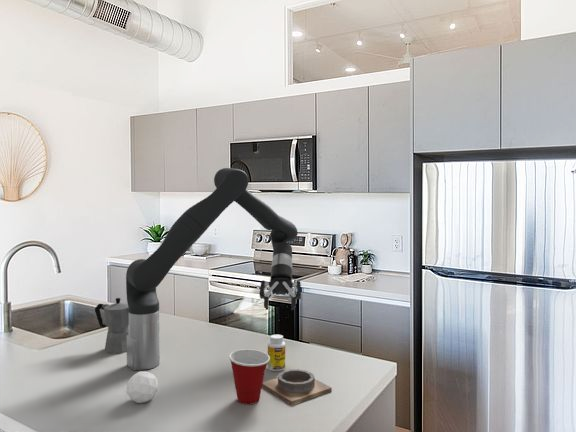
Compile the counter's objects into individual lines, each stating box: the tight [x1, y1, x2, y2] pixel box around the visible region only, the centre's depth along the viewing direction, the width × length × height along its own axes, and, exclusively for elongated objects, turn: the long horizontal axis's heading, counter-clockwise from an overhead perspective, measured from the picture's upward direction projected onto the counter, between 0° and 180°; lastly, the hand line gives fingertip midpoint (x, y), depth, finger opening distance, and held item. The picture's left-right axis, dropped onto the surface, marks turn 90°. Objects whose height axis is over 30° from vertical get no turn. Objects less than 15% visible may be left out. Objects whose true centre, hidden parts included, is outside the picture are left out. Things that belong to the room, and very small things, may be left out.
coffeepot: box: [94, 297, 129, 355], centre depth 156 cm, size 15×9×18 cm, turn 79°
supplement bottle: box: [266, 334, 287, 372], centre depth 140 cm, size 6×6×10 cm
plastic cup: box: [228, 348, 270, 405], centre depth 119 cm, size 11×11×12 cm
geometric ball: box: [126, 370, 159, 404], centre depth 118 cm, size 8×8×8 cm
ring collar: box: [262, 368, 333, 406], centre depth 126 cm, size 14×14×4 cm
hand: (279, 308), depth 151 cm, fingers open, 8 cm apart
